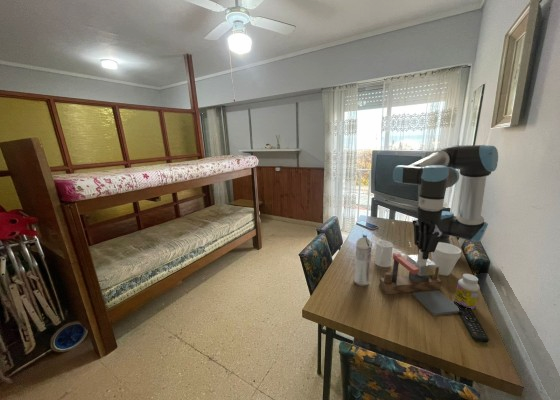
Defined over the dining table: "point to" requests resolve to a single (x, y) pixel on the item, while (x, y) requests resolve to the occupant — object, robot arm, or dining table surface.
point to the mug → (383, 253)
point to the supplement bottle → (467, 291)
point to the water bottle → (362, 261)
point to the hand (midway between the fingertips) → (421, 264)
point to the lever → (405, 263)
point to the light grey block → (423, 270)
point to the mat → (436, 302)
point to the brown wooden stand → (408, 282)
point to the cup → (445, 257)
